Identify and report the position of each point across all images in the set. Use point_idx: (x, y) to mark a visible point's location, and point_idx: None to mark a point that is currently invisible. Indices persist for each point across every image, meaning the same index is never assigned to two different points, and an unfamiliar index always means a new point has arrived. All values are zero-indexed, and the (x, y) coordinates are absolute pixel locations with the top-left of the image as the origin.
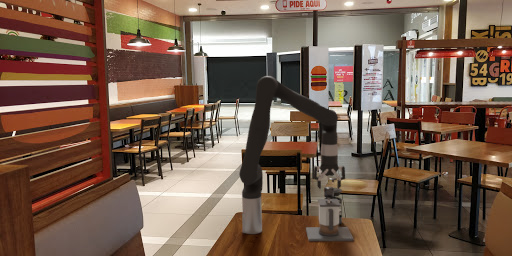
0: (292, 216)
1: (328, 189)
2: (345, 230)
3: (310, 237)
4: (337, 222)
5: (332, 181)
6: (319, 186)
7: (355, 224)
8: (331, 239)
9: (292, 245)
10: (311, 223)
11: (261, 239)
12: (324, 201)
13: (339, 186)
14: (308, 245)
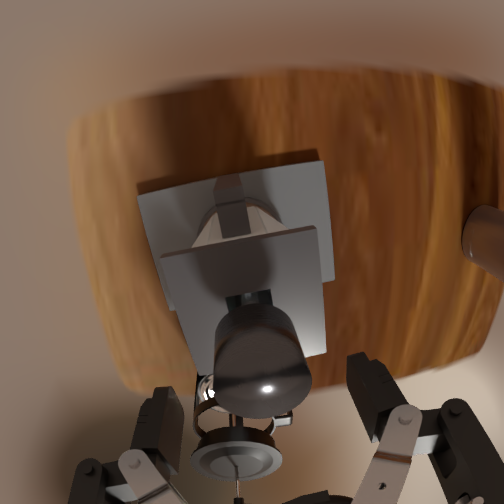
0: None
1: (267, 350)
2: None
3: (316, 174)
4: (198, 238)
5: (241, 500)
6: (369, 363)
7: (150, 351)
8: None
9: (375, 116)
10: None
11: (462, 166)
12: None
13: (151, 400)
14: (318, 119)
